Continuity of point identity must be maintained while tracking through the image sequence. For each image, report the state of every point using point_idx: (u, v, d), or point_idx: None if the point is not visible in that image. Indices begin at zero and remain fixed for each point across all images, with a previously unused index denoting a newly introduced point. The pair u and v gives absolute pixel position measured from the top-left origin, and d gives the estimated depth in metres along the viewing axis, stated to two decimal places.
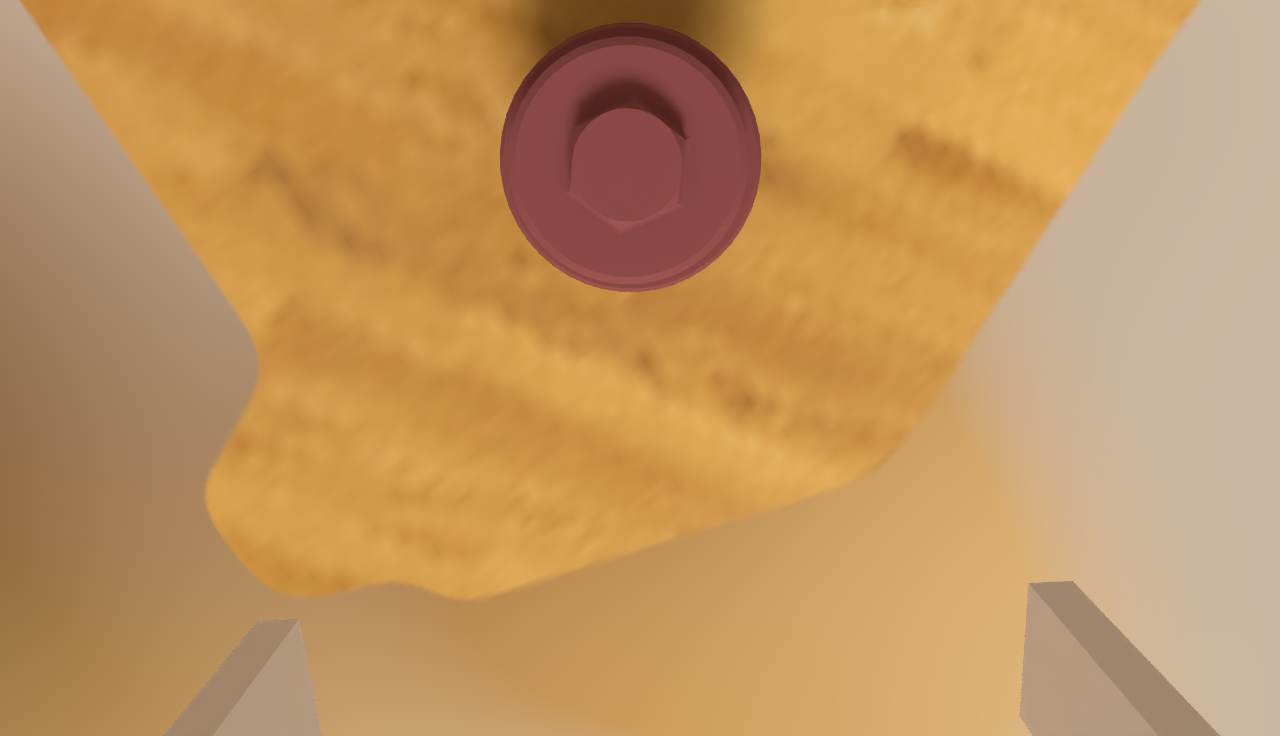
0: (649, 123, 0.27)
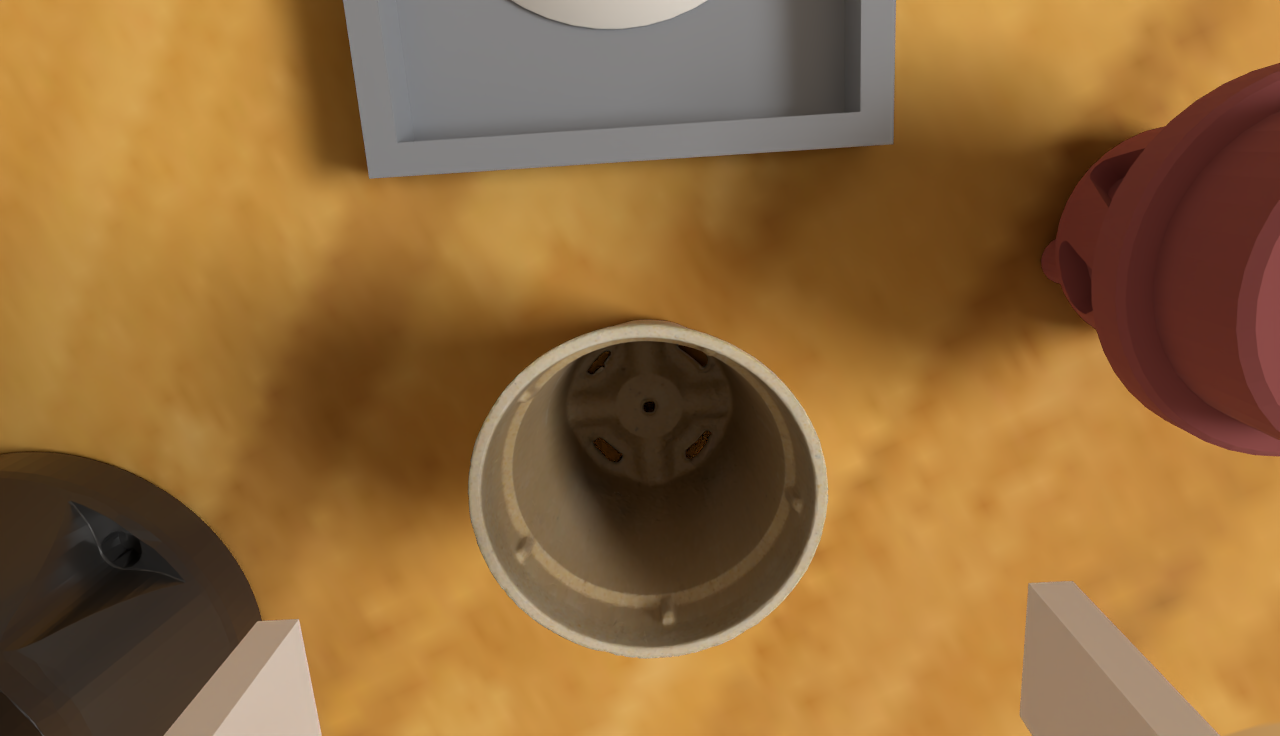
0: None
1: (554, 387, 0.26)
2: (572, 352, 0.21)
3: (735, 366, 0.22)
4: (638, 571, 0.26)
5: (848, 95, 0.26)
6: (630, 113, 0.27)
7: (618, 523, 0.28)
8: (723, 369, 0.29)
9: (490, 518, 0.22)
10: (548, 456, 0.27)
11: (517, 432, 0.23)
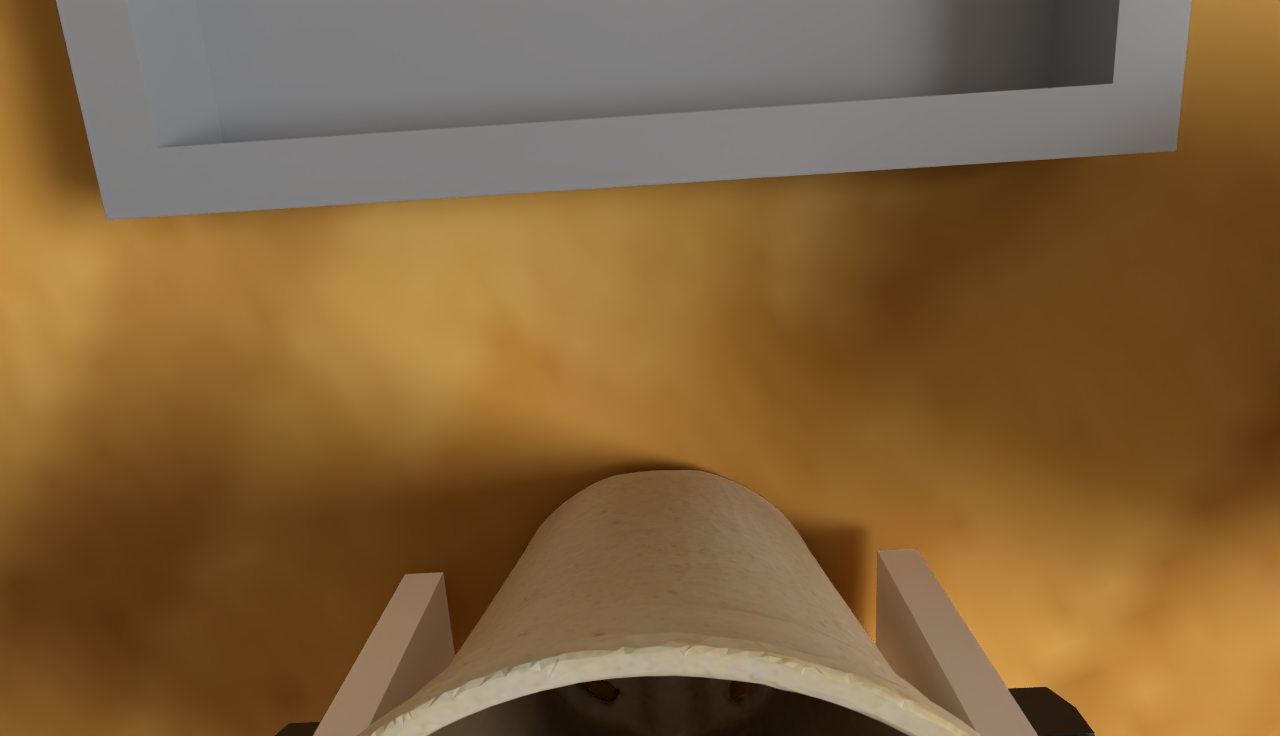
0: None
1: None
2: (476, 710, 0.08)
3: None
4: None
5: (1066, 54, 0.13)
6: (633, 91, 0.14)
7: None
8: None
9: None
10: None
11: None
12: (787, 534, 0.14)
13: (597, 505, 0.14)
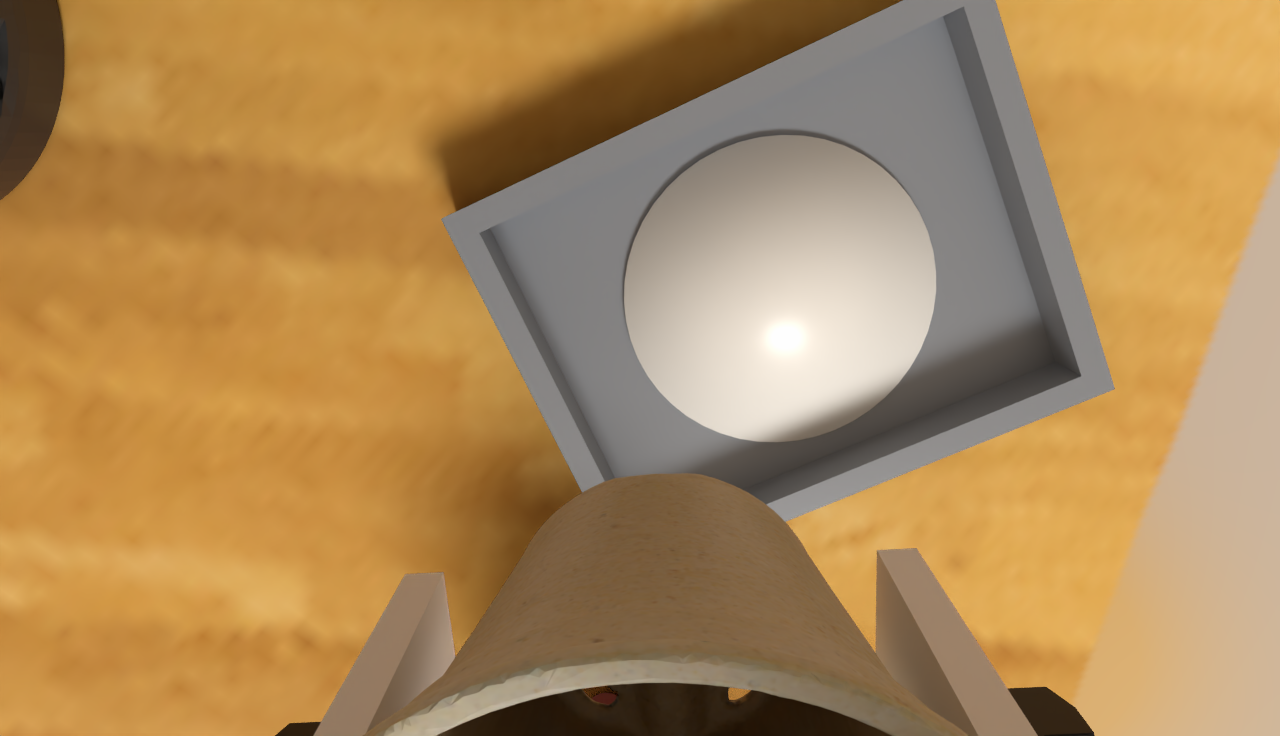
0: None
1: None
2: (475, 716, 0.08)
3: None
4: None
5: None
6: (580, 384, 0.33)
7: None
8: None
9: None
10: None
11: None
12: (786, 538, 0.14)
13: (596, 509, 0.14)
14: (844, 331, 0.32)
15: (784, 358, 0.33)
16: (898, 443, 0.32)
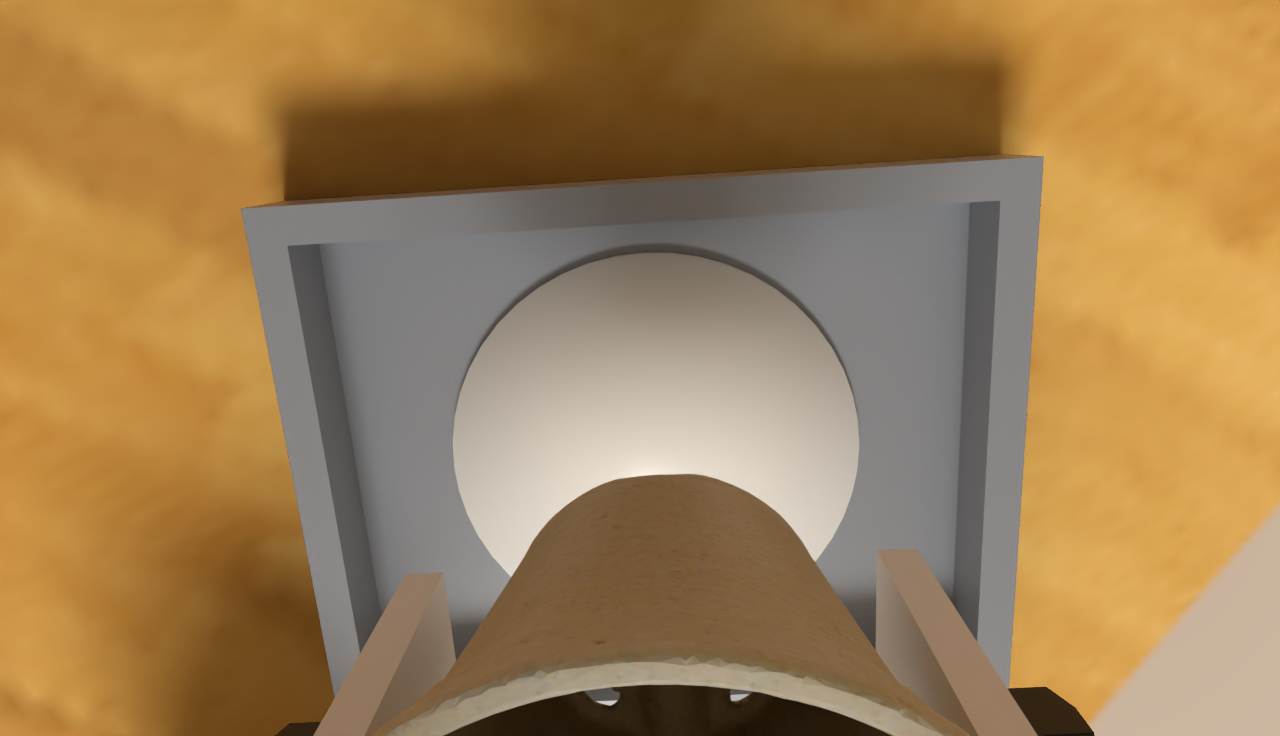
0: None
1: None
2: (477, 718, 0.08)
3: None
4: None
5: None
6: (371, 471, 0.25)
7: None
8: None
9: None
10: None
11: None
12: (788, 539, 0.14)
13: (598, 510, 0.14)
14: None
15: None
16: None
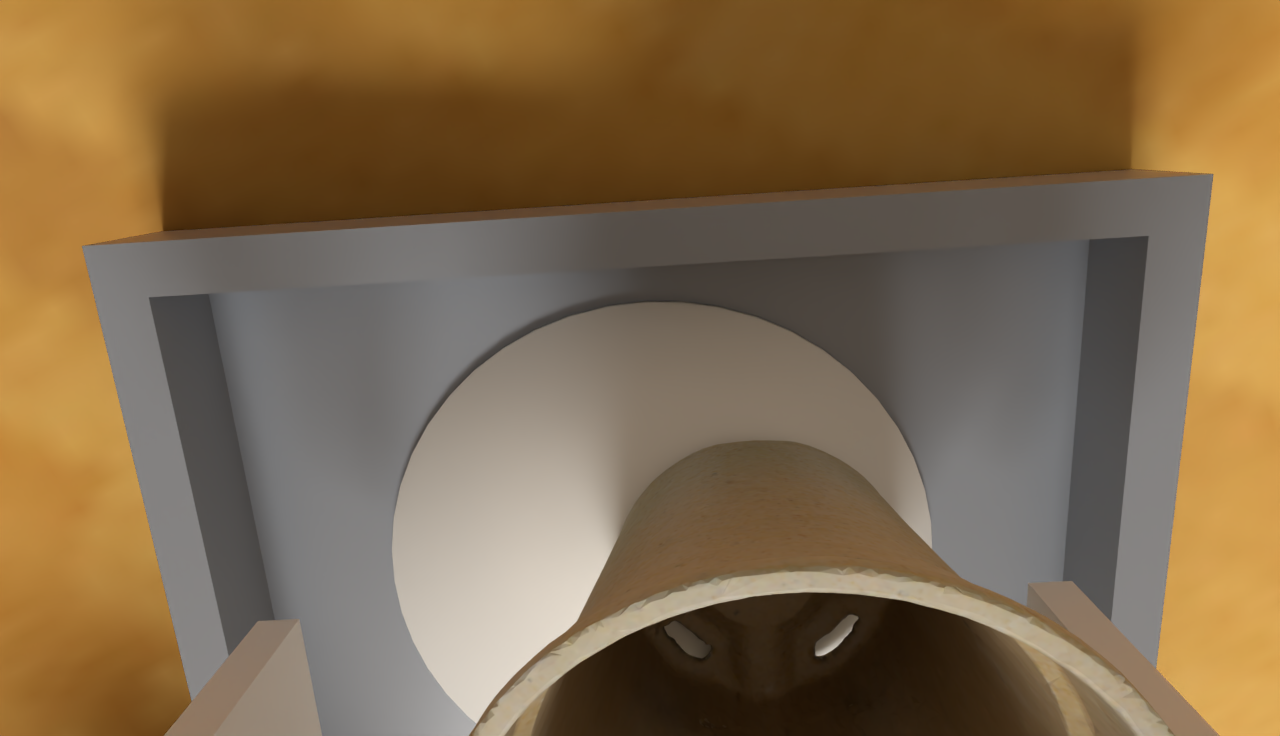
0: None
1: None
2: (659, 620, 0.09)
3: None
4: None
5: None
6: (287, 585, 0.19)
7: None
8: None
9: None
10: (593, 688, 0.15)
11: (537, 715, 0.12)
12: (881, 498, 0.16)
13: (705, 469, 0.16)
14: None
15: None
16: None
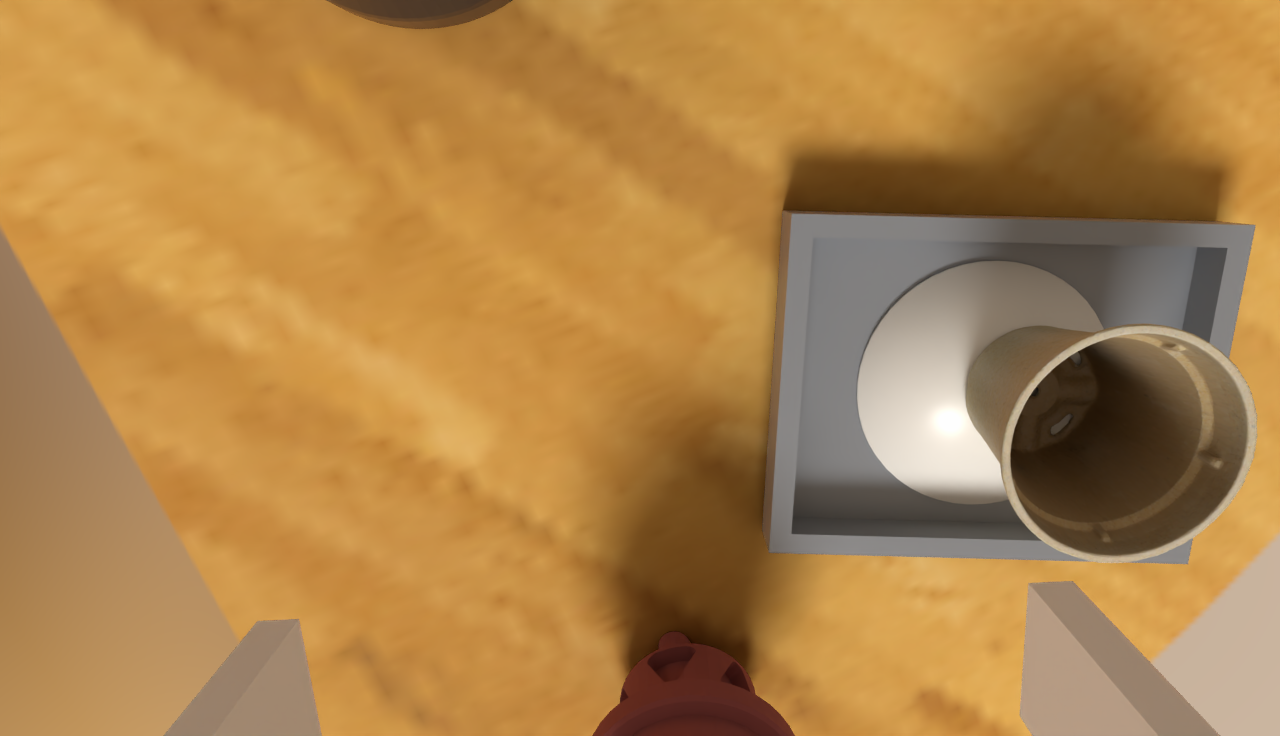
0: None
1: (999, 368, 0.36)
2: (1102, 339, 0.30)
3: (1183, 360, 0.32)
4: (1060, 507, 0.35)
5: (797, 521, 0.41)
6: (803, 383, 0.40)
7: (1024, 475, 0.37)
8: (1093, 368, 0.39)
9: None
10: None
11: None
12: None
13: (1034, 331, 0.37)
14: None
15: (962, 434, 0.40)
16: (1017, 535, 0.40)
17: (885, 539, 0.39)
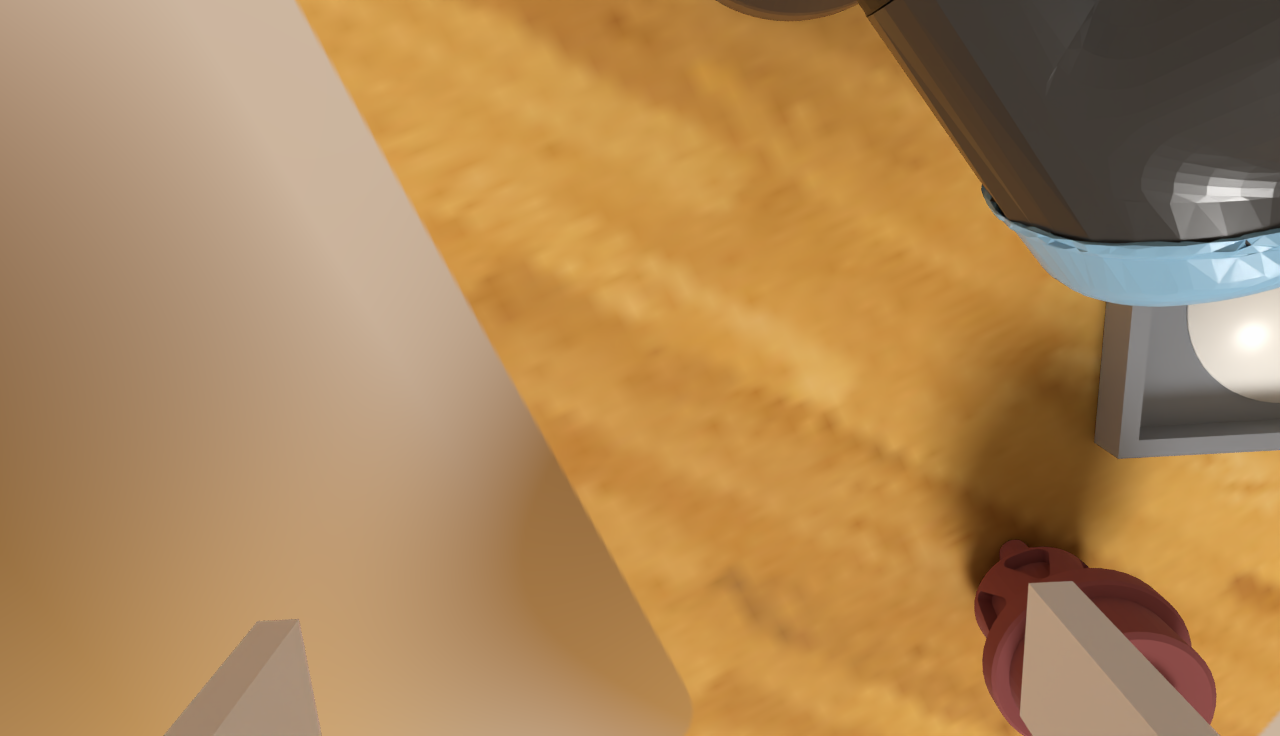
0: None
1: None
2: None
3: None
4: None
5: None
6: None
7: None
8: None
9: None
10: None
11: None
12: None
13: None
14: None
15: None
16: None
17: (1223, 438, 0.44)
